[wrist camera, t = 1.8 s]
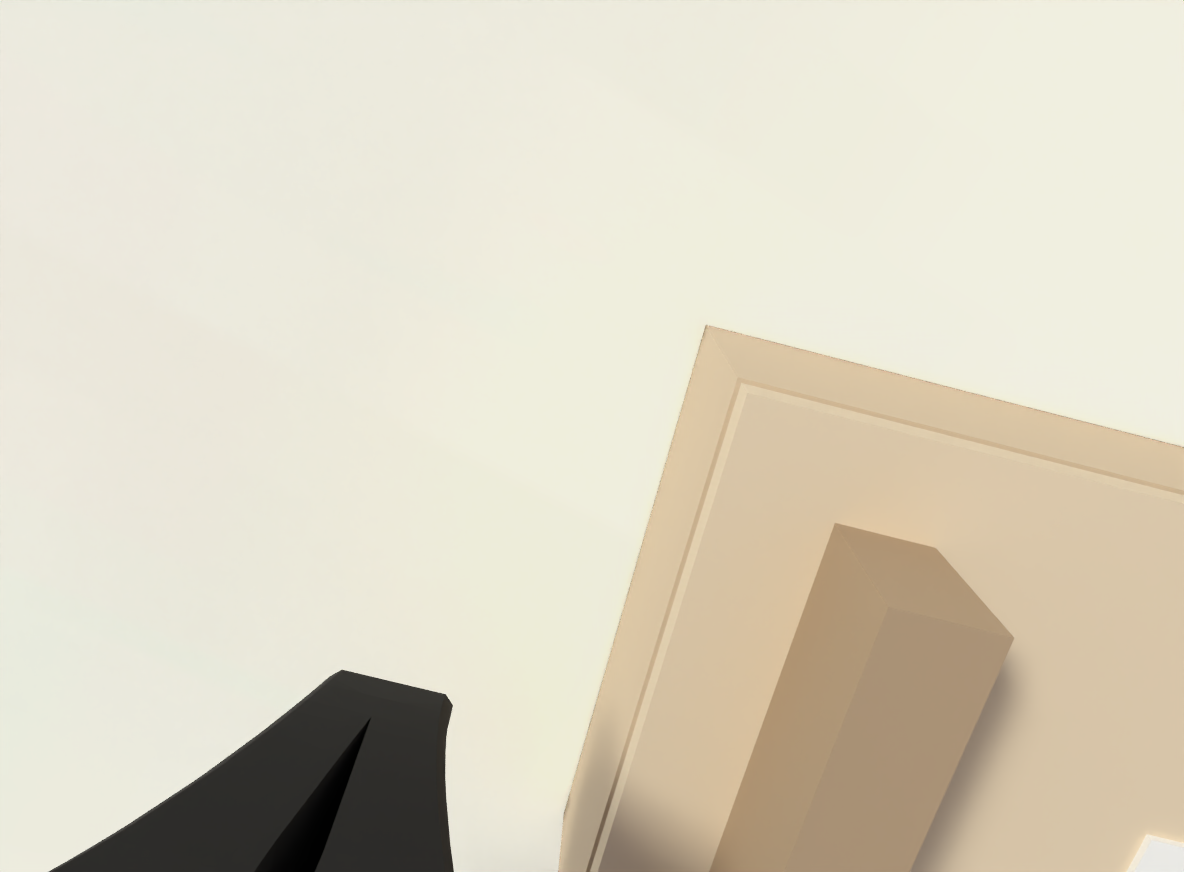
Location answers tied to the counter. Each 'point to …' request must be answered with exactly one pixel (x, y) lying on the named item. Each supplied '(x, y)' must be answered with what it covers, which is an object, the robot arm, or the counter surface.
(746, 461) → the lid
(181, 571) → the counter surface
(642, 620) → the box
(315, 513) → the counter surface
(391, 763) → the robot arm
